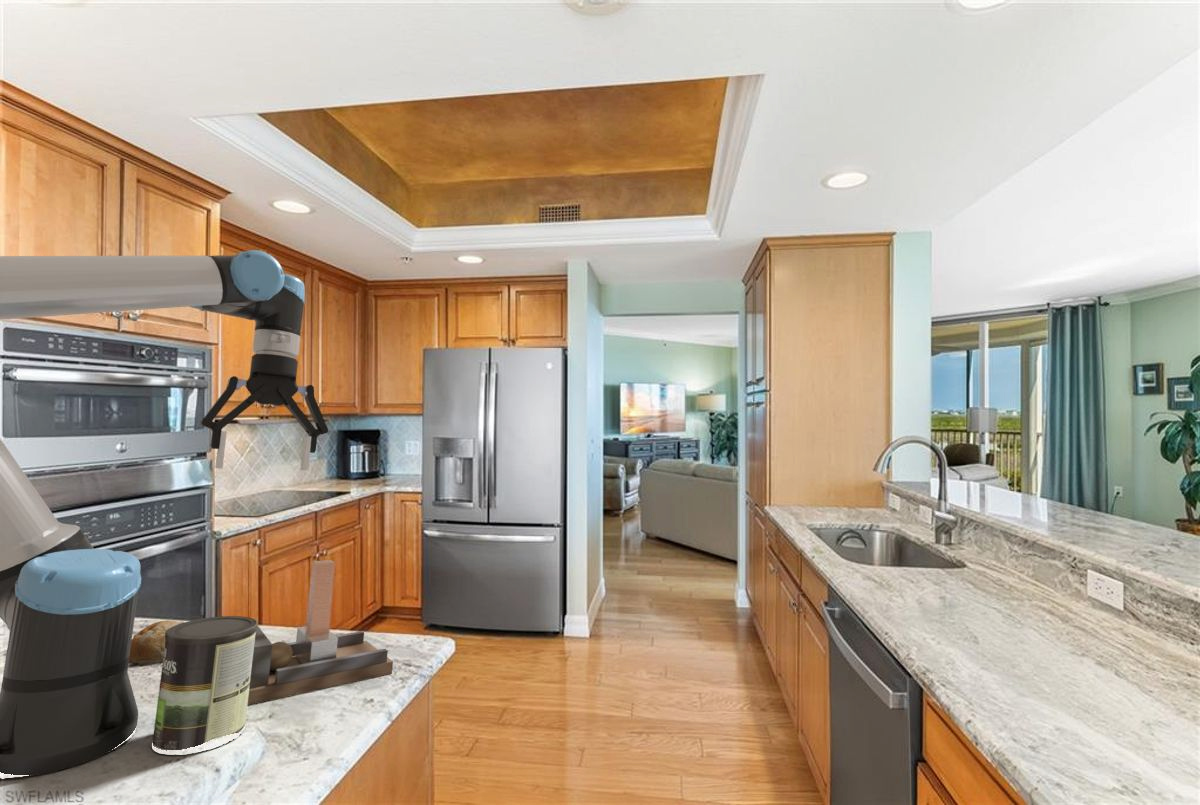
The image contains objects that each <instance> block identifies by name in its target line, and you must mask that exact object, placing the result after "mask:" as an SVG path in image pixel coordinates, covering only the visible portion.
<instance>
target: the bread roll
mask: <svg viewBox="0 0 1200 805" xmlns="http://www.w3.org/2000/svg"><path fill="white" fill-rule="evenodd" d="M184 622H185V621H176V620H161V621H157V622H153V623H152V624H149V625H147V626H145V627H144V628H143V629H141V630H139V631H138V632H137V633H136V634H133V635H132V641H131V649H130V655H129V662H130V663H132V664H133V665H136V664H139V665H140V664H141V665H142V664H143V665H152V664H163V658H164V649H165V641H166V639H165V632H166V631H167V630H168V629H169V628H171V627H173V626H175V625H178V624H181V623H184Z"/></svg>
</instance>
